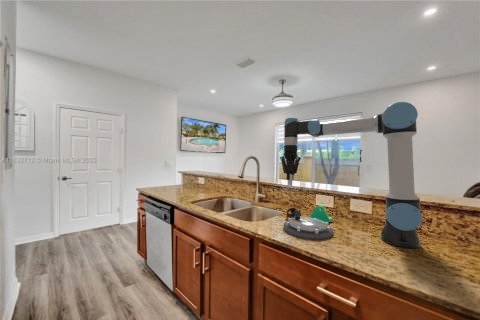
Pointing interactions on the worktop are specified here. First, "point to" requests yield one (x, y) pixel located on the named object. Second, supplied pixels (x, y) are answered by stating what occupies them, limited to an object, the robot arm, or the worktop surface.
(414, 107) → the robot arm
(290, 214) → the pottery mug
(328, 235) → the base
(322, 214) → the camera mount
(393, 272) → the worktop surface
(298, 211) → the index wheel
